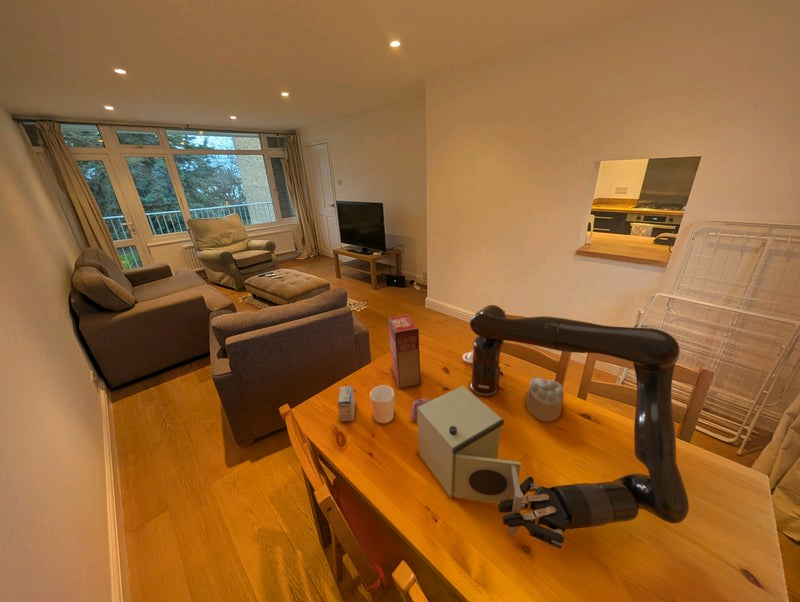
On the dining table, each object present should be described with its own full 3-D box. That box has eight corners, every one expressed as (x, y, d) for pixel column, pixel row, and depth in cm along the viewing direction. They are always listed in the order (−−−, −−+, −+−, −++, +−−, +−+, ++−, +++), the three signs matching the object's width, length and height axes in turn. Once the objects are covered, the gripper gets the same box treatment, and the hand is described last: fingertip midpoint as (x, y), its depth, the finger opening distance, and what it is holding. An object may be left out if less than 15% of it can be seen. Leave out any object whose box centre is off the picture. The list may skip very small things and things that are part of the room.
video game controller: (441, 418, 100) (440, 398, 100) (441, 423, 95) (441, 402, 96) (412, 417, 101) (412, 397, 101) (411, 422, 96) (411, 401, 97)
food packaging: (391, 368, 124) (387, 316, 114) (412, 364, 126) (410, 312, 116) (398, 389, 112) (394, 332, 102) (422, 384, 114) (420, 328, 104)
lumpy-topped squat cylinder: (559, 398, 103) (563, 378, 100) (561, 425, 93) (566, 404, 89) (527, 391, 108) (530, 372, 104) (525, 416, 97) (529, 396, 93)
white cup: (398, 410, 102) (397, 387, 98) (390, 427, 96) (388, 403, 91) (378, 405, 105) (375, 383, 101) (369, 422, 98) (366, 399, 94)
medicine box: (343, 405, 106) (339, 386, 102) (355, 404, 106) (352, 385, 102) (340, 422, 99) (337, 402, 95) (354, 421, 99) (351, 401, 95)
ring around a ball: (465, 367, 122) (484, 366, 122) (466, 356, 120) (485, 354, 120) (460, 357, 129) (478, 355, 130) (460, 346, 127) (478, 344, 128)
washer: (460, 430, 93) (463, 382, 85) (497, 468, 81) (504, 417, 73) (418, 453, 86) (416, 404, 78) (452, 499, 74) (454, 446, 66)
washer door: (512, 502, 71) (519, 461, 65) (519, 541, 64) (527, 498, 58) (454, 494, 74) (455, 453, 68) (454, 530, 66) (455, 488, 60)
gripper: (599, 553, 57) (513, 564, 56) (559, 484, 70) (488, 492, 69) (609, 530, 54) (517, 541, 53) (565, 463, 67) (490, 471, 66)
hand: (501, 513), depth 61 cm, fingers closed, pressing on washer door
